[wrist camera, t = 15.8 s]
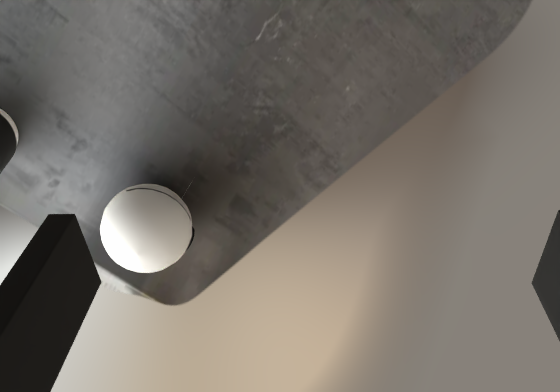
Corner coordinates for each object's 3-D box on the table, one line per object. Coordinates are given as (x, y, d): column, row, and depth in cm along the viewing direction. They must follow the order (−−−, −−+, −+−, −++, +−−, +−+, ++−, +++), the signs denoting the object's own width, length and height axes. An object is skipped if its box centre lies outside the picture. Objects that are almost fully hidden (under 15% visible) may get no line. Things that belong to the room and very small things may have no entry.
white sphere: (156, 252, 46) (138, 306, 40) (96, 198, 43) (66, 248, 36) (238, 195, 43) (233, 244, 37) (180, 133, 40) (164, 174, 34)
